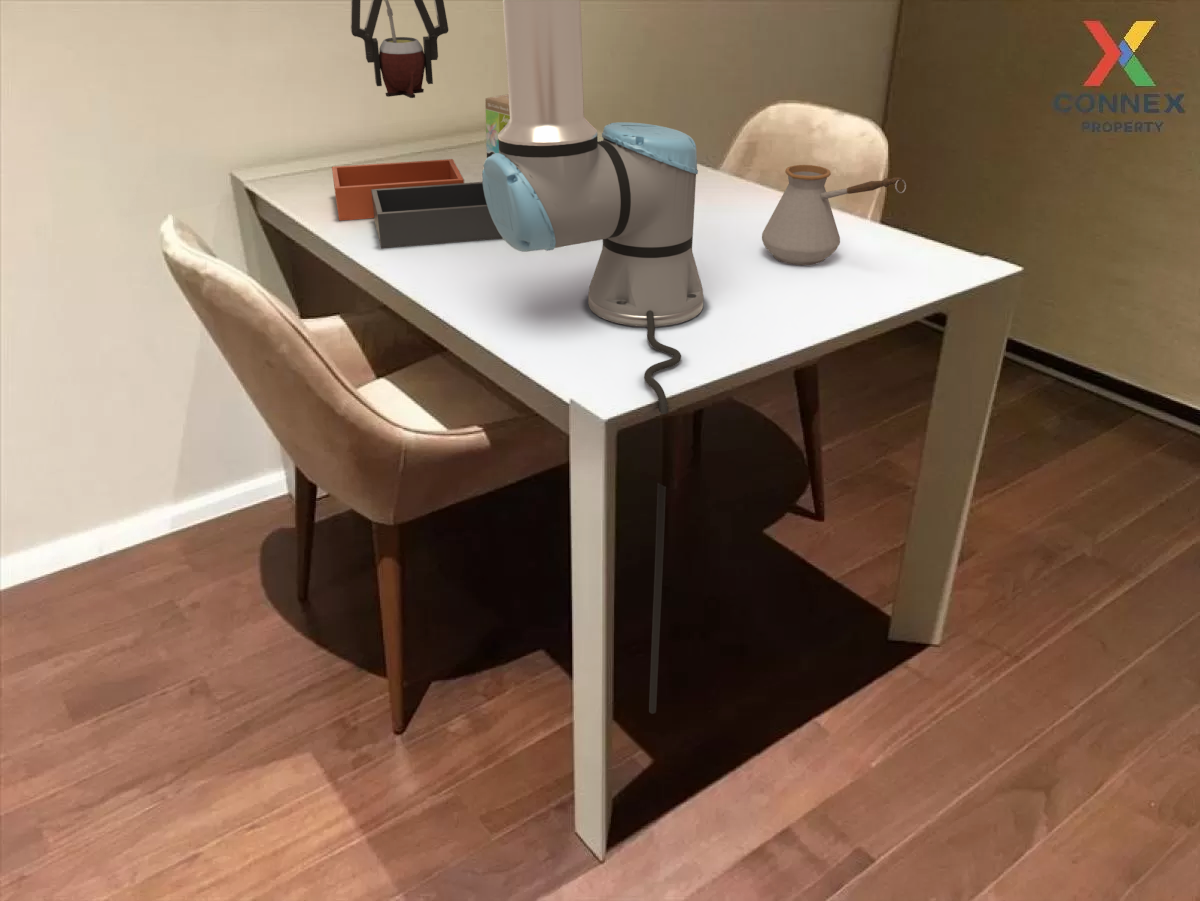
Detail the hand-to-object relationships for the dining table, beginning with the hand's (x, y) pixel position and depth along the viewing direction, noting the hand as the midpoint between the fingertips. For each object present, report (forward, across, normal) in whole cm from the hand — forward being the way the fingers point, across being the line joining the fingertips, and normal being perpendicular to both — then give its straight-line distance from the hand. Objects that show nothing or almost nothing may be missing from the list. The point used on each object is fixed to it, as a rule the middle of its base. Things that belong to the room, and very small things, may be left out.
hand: (404, 83), depth 162 cm
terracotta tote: (+21, +2, -5) cm, 22 cm away
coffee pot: (+20, -56, +39) cm, 71 cm away
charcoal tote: (+21, -4, +10) cm, 23 cm away
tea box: (+21, -23, -15) cm, 35 cm away
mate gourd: (+2, 0, 0) cm, 2 cm away
